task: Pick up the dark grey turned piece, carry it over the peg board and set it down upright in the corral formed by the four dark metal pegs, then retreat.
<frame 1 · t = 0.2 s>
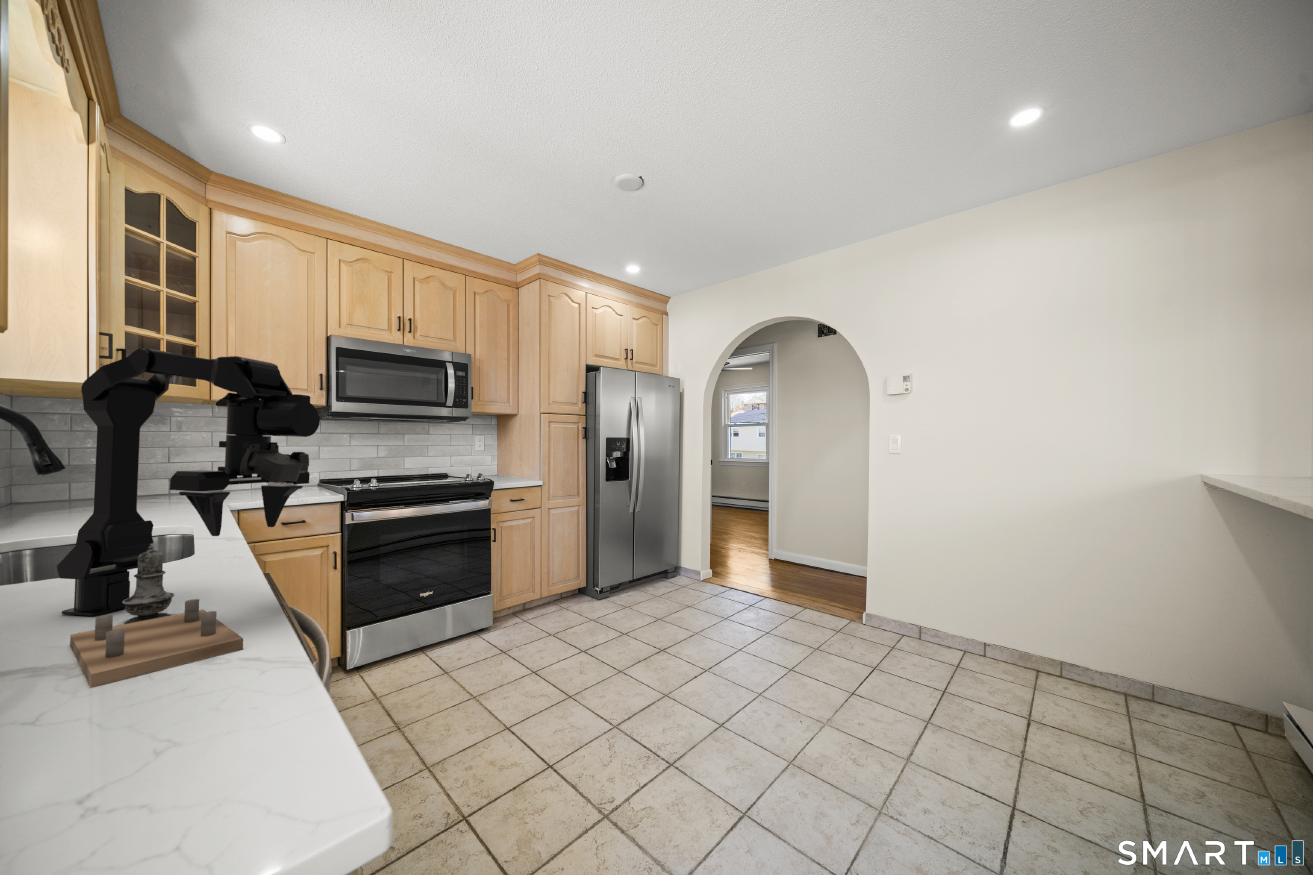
hand: (244, 531, 81), 14 cm above the counter, fingers open, 9 cm apart
peg board: (156, 647, 69), on the counter
dark grey turned piece: (148, 621, 80), on the counter
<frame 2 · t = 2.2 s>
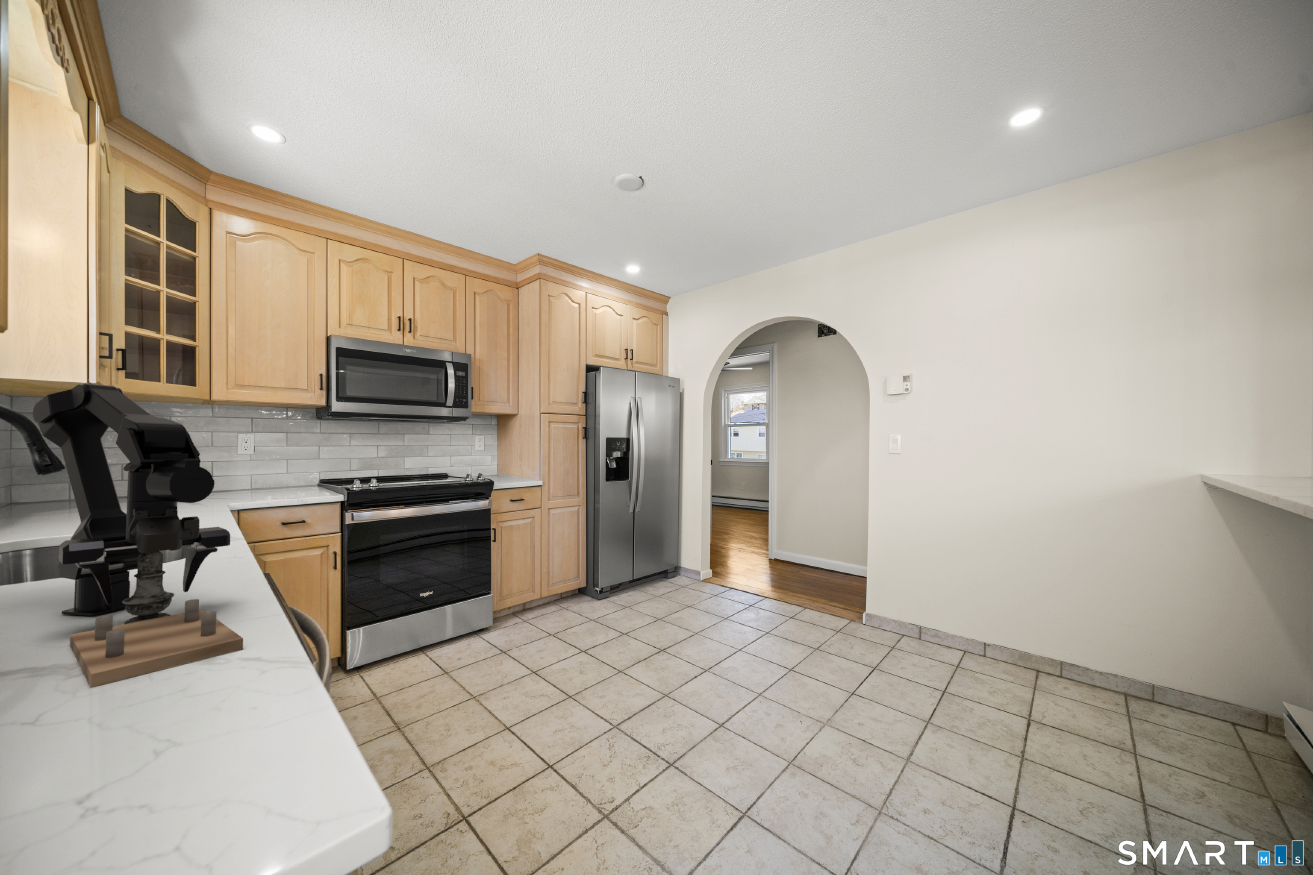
hand: (148, 597, 80), 4 cm above the counter, fingers closed on dark grey turned piece, 8 cm apart
dark grey turned piece: (148, 621, 80), on the counter, touching gripper
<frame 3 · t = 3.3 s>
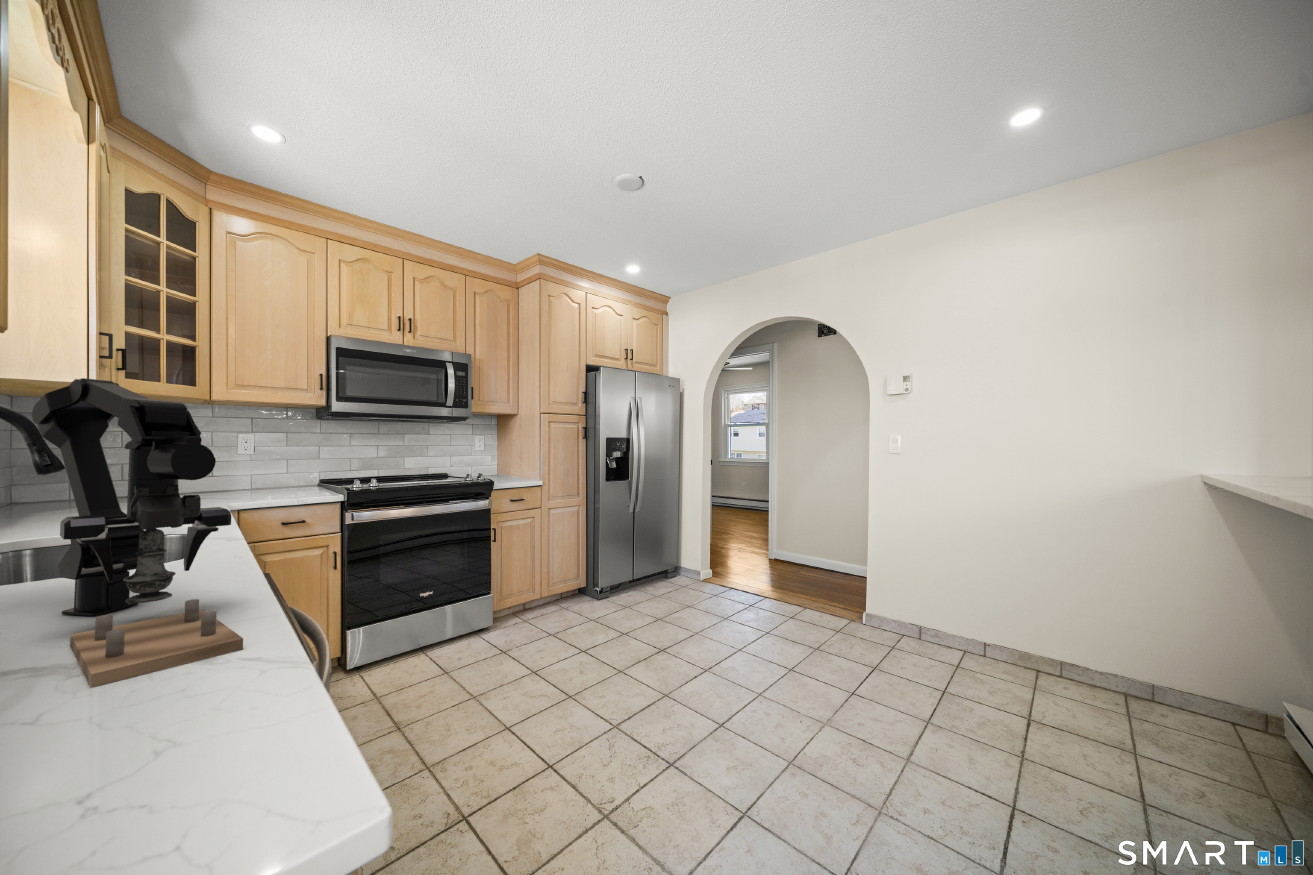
hand: (150, 575, 80), 7 cm above the counter, fingers closed on dark grey turned piece, 8 cm apart
dark grey turned piece: (149, 599, 80), point 3 cm above the counter, touching gripper
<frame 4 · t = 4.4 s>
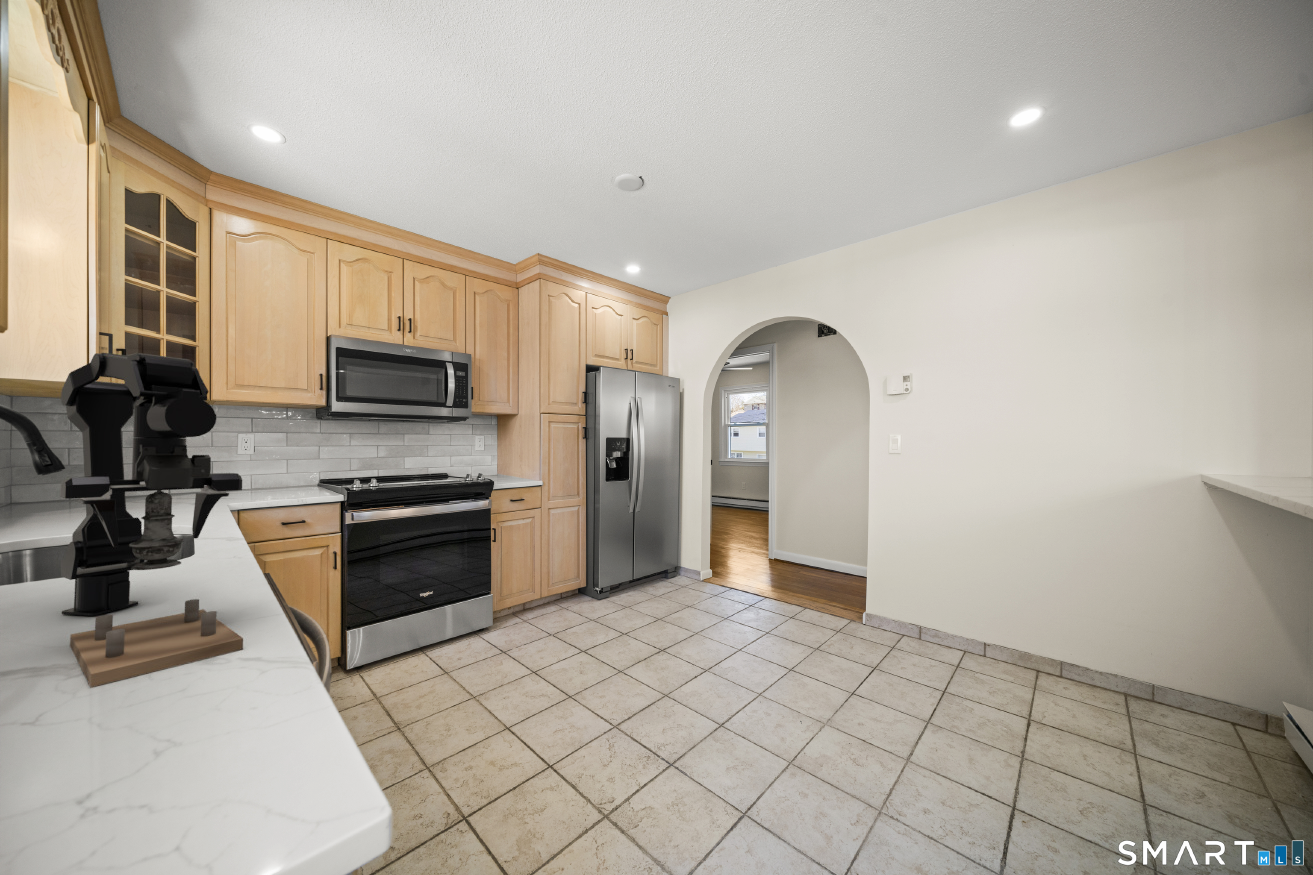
hand: (157, 542, 75), 13 cm above the counter, fingers closed on dark grey turned piece, 8 cm apart
dark grey turned piece: (156, 567, 75), point 10 cm above the counter, touching gripper
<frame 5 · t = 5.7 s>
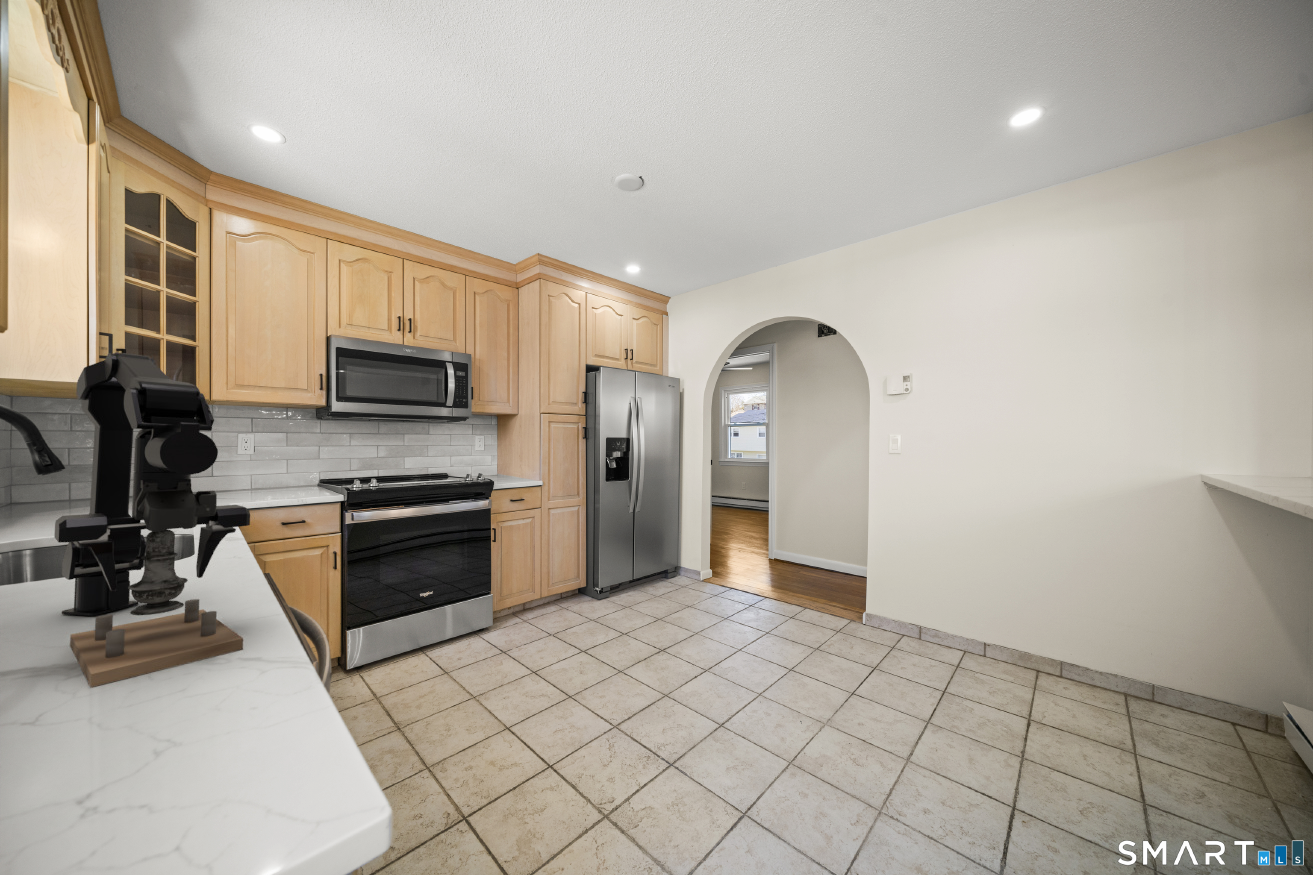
hand: (158, 583, 69), 9 cm above the counter, fingers closed on dark grey turned piece, 8 cm apart
dark grey turned piece: (157, 610, 69), point 5 cm above the counter, touching gripper
when the fingers open (6 cm above the counter, at t = 6.9 s): dark grey turned piece stays where it is, resting on peg board.
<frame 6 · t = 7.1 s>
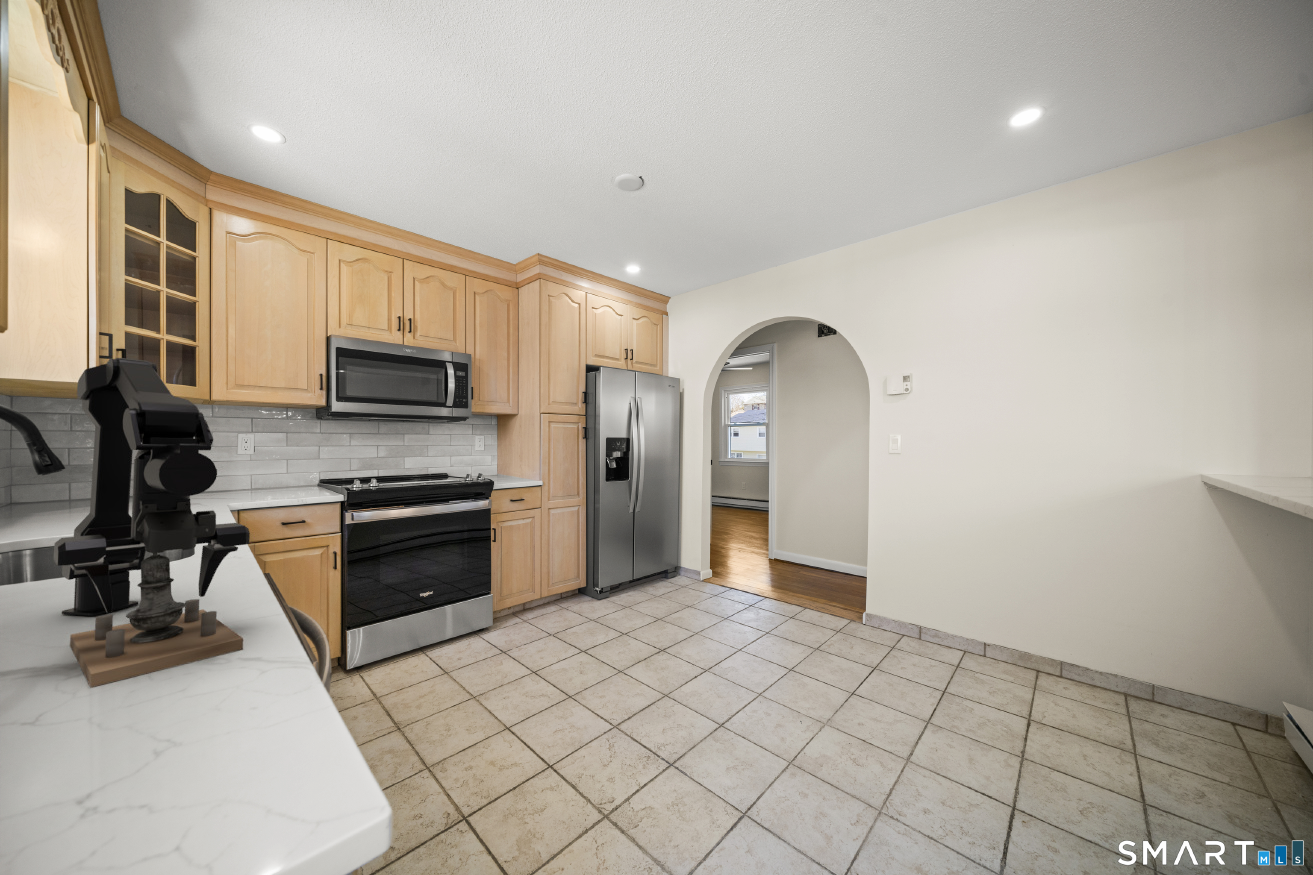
hand: (157, 603, 69), 6 cm above the counter, fingers open, 9 cm apart
dark grey turned piece: (157, 636, 69), point 1 cm above the counter, touching peg board
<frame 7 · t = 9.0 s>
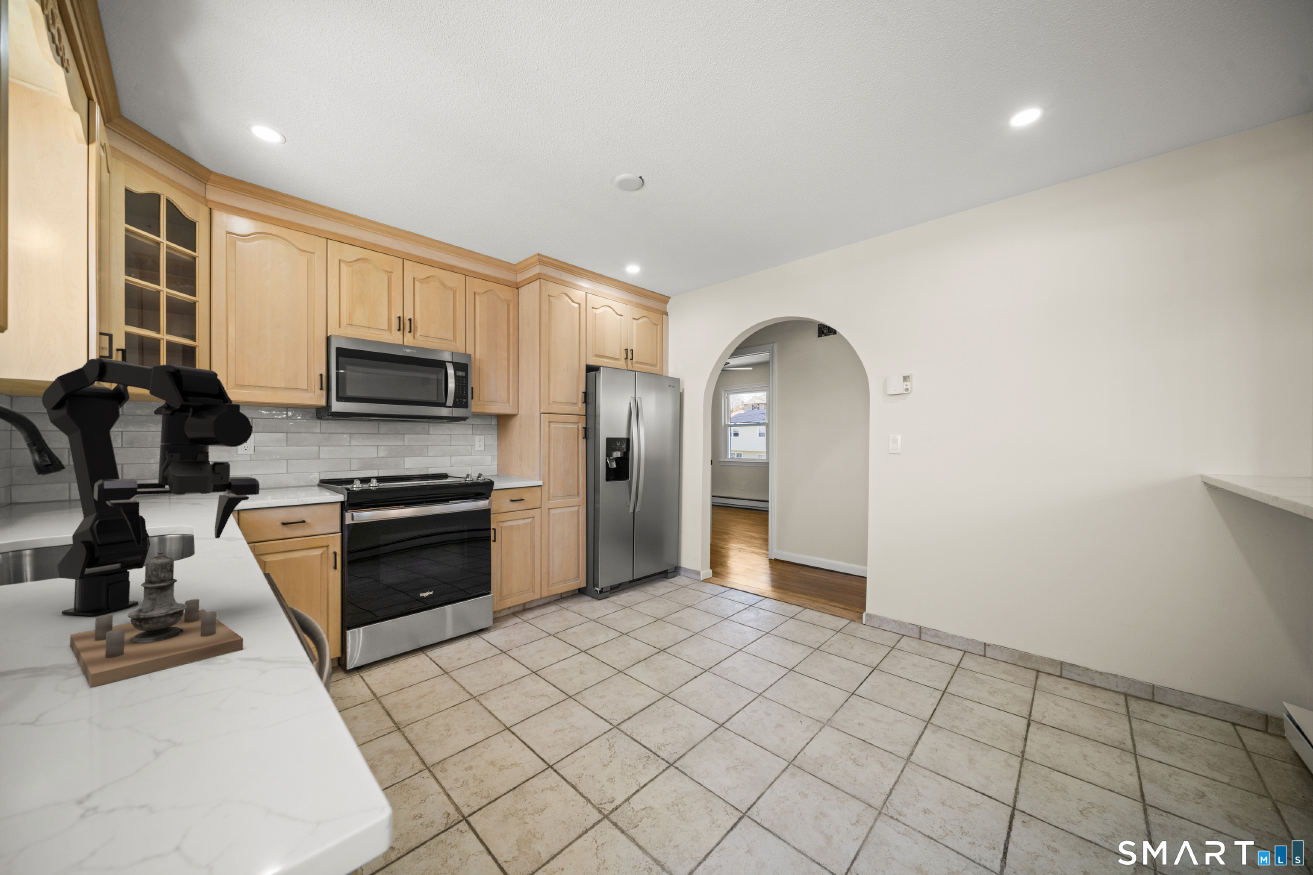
hand: (179, 541, 80), 13 cm above the counter, fingers open, 9 cm apart
nothing on the counter moved.
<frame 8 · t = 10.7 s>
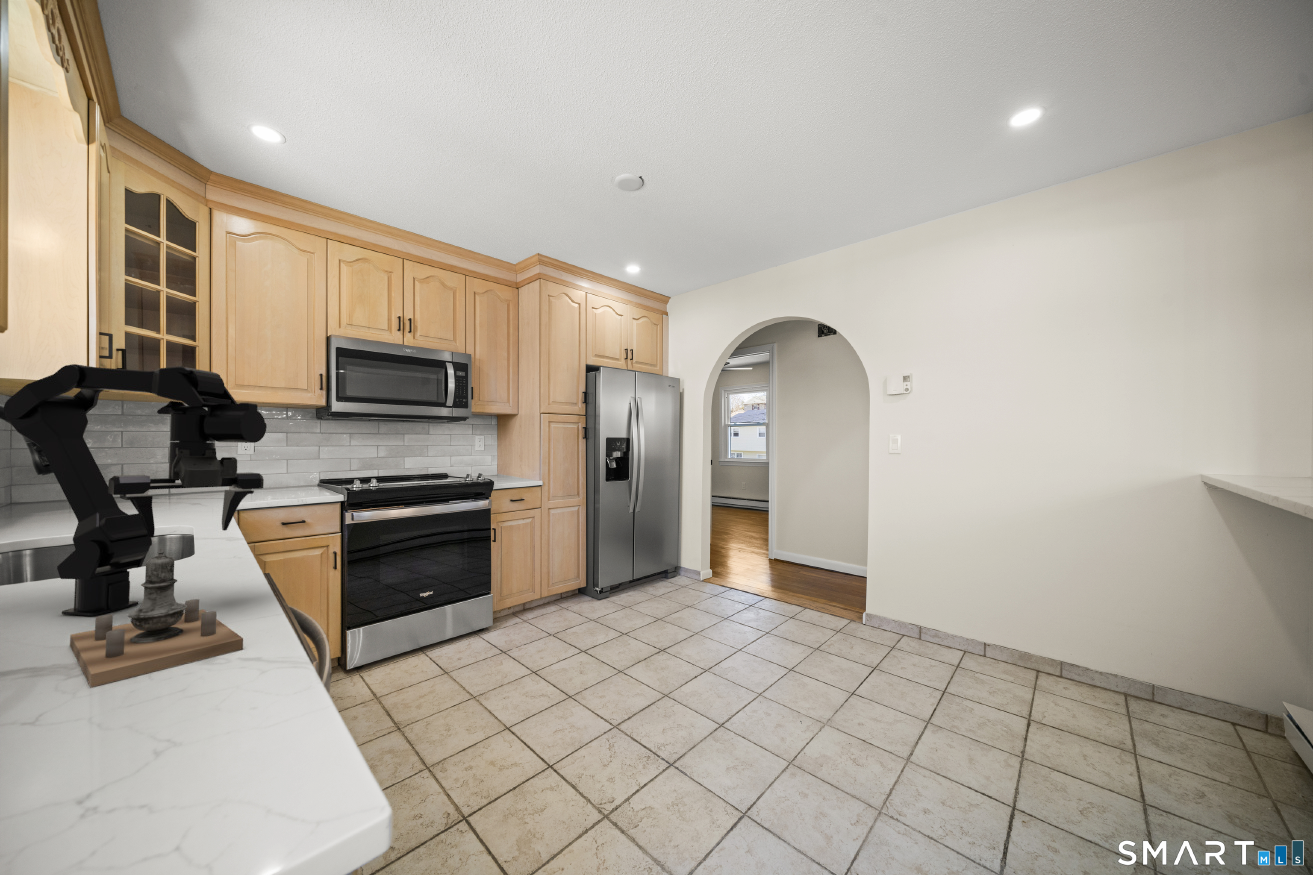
hand: (189, 533, 85), 13 cm above the counter, fingers open, 9 cm apart
nothing on the counter moved.
at the end: dark grey turned piece 0.2 cm off-centre on the peg board, point 1.3 cm above the peg board's base; dark grey turned piece tilted 0°; the gripper is holding nothing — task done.
